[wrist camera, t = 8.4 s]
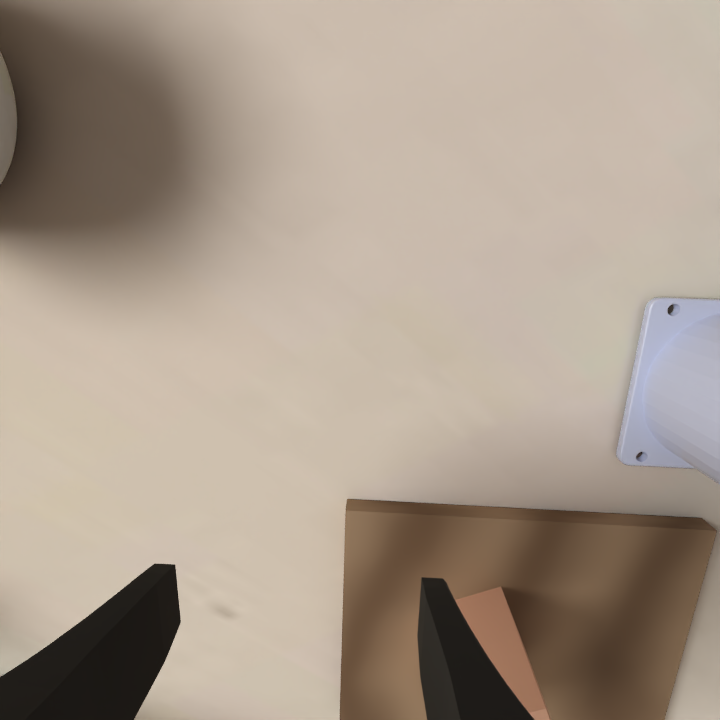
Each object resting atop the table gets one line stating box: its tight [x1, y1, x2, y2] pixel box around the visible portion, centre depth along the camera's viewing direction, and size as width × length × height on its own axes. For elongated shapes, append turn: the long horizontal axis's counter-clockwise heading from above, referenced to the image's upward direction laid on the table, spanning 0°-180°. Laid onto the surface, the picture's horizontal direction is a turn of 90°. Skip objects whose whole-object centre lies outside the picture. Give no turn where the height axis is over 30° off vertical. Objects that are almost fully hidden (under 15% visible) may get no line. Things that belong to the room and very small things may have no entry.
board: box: [340, 499, 717, 720], centre depth 23 cm, size 18×14×1 cm
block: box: [455, 587, 551, 720], centre depth 20 cm, size 4×4×6 cm
